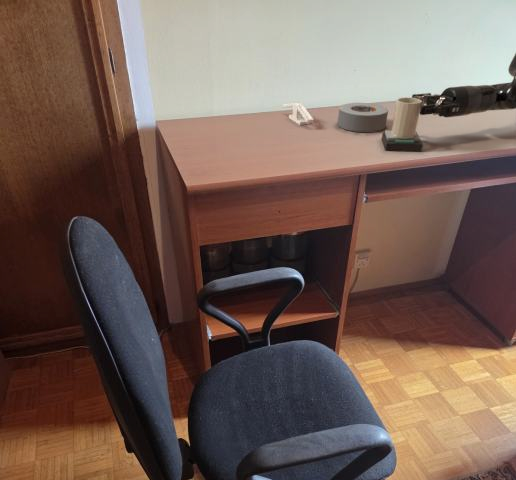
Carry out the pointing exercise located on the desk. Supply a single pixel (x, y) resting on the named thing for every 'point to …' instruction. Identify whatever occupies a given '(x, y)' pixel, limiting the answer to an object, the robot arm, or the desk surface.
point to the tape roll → (362, 117)
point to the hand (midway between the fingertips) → (411, 106)
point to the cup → (406, 117)
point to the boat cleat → (300, 114)
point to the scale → (401, 143)
